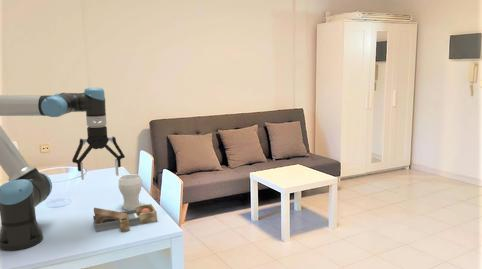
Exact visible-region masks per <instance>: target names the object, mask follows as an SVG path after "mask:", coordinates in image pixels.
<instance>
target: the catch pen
mask: <svg viewBox="0 0 482 269" xmlns="http://www.w3.org/2000/svg"><path fill="white" fill-rule="evenodd" d="M144 208H148V209H149V210H150V211H151V212H147V213H141V210H142V209H144ZM136 214H137V215H138V217H140V222H141V224H140V225H145V224H150V223H156V222H158V217H157V215H158V214H157V210H156V209H155V207H154V206H153V204H152V203H148V204H141V205H140V206H136Z"/></svg>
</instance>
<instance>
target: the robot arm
mask: <svg viewBox="0 0 482 269" xmlns="http://www.w3.org/2000/svg"><path fill="white" fill-rule="evenodd" d="M106 109H107V108H106V97H105V90H104V88H102V87H86V88H84V91H83V92H58V93H55V94H54V95H51V94H50V95H18V94H16V95H14V94H13V95H12V94H11V95H8V94H6V95H5V94H4V95H1V94H0V117H8V116H9V117H24V116H25V117H27V116H28V117H36V116H37V117H38V116H39V117H40V116H43V117H50V118H59V117H61V116H63V115H66V114H70V113H77V112H79V113H81V112H82V113H85V114H86V115H85V116H86V125H87V127H86V130H87V131H86V132H87V138H79V144H78V146H77V148H76V150H75V152H74V155H73V157H72V161H71V162H72V163H73V164H76V165H77V171H78V172H80V174H81V175H80V176H81V180H84V178H85V177H84V164H83V160H84V159H85V158H86V157H87V155H88V154H90V152H91V151H92V150H99V149H100V150H101V149H102V150H103V149H104V148H105V149H106V150H107V151H108V152H109V153H110V154H111V155H113V157H114V158H115V159H114V163H115V165H114V166H115V175H116V176H119V168H121V167H122V164H121V160H122V159H124V158H125V157H126V156H125V154H124V153H123V151H122V150H121V147H120V145H118V143H117V140H116V137H115V136H114V135H112V136H110V137H108V127H107V126H106V125H107V113H106V111H107V110H106ZM109 142H111V143H112V144H113V145H114V147H115V149H116V150H117V152H118V153H119V155H118V154H117V153H116V151H114V150H113V149H112V148H111V147H110V146H109V145H108V143H109ZM86 143H87V144H88V146H87V148H85V150H84V152H83V153H82V154H81V155H80V152H82V148H83V146H84V145H86ZM79 155H80V156H79ZM0 167H1V169H2V170H3V171H4V172H5V174H6V175H7V177H8V178H9V179H8V181H6V182H5V183H3V184H1V185H0V224H1V227H0V249H1V250H3V251H8V252H9V251H10V252H11V251H19V250H24V249H25V250H26V249H28V248H31V247H34V246H36V245H38V244H39V243H41V242H42V241H43V239H44V234H43V233H44V232H43V231H42V228H41V227H40V225H39V223H38V220H37V217H36V207H37V206H38V205H39V204H41V203H42V202H43V201H46V200H47V198H48V197H49V196H50V195H51V193H52V189H53V184H52V181H51V180H52V179H51V178H50V177H49V176H48V175H47V174H45V173H42V172H40V171H39V170H38V169H37V167H36V166H32V165H30V164H29V163H28V161H27V160H26V159H25V157H24V156H23V155H22V153H21V152H20V150H19V149H18V148H17V146H16V145H15V144H14V143H13V141H12V140H11V138H10V136H8V134H7V133H6V132H5V130H4V128H3V127H2V126H1V125H0ZM119 177H120V176H119Z"/></svg>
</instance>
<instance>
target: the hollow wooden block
mask: <svg viewBox="0 0 482 269" xmlns="http://www.w3.org/2000/svg"><path fill="white" fill-rule="evenodd" d="M119 223H120V228H119V229H120V232H121V233H124V232H129V231H130V229H131V228H130V226H129V219H128V217H126V218H120V219H119Z"/></svg>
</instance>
